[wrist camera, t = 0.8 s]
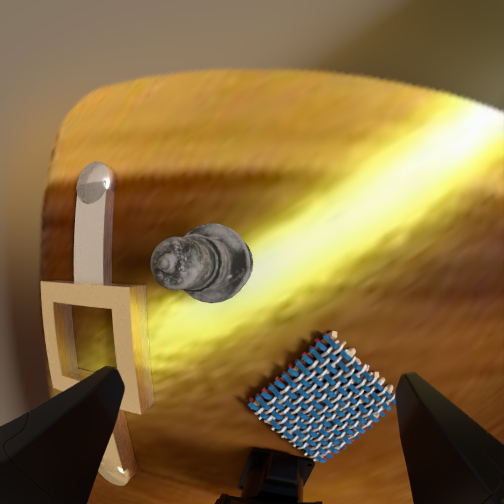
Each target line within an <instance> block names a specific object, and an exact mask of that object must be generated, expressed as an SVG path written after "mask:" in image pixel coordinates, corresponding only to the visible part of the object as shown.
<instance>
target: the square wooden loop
mask: <svg viewBox="0 0 504 504" xmlns="http://www.w3.org/2000/svg"><path fill="white" fill-rule="evenodd" d="M41 299H42V313H43V324H44V333H45V341H46V349H47V355H48V362H49V367H50V373H51V378H52V383H53V388H56V389H58V390H61V391H65V390H66V389H68V388H70V387H71V386H73V385H75V384H76V383H78V382H80V381H81V380H83V379H85V378H86V377H87V376H83V375H79V374H76V373H73V372H70V367H69V360H68V353H67V346H66V338H65V328H64V317H63V303H65V304H73V305H81V306H89V307H98V308H108V309H112V319H113V333H114V344H115V354H116V363H117V369H118V371H119V373H120V375H121V378H122V380H123V382H124V385H125V392H124V395H123V399H122V402H121V406H120V410H119V413H118V417H117V421H116V424H115V427H114V430H113V433H112V435H111V438H110V440H109V443H108V446H107V448H106V451H105V454H104V456H103V459H102V462H101V464H100V467H99V470H98V471H99V473H100V474H101V475H102V476H103V477H104V478H105V479H106V480H108V481H109V482H111V483H113V484H115V485H119V486H123V485H125V484H126V483H127V482H128V481H129V480H130V479H131V478H132V476H133V475H134V474H135V473H136V472H137V470H138V463H137V461H136V459H135V456H134V452H133V448H132V444H131V439H130V435H129V430H128V425H127V420H126V415H125V411H129V412H133V413H137V414H141V415H142V414H143V413H144V412H145V411H146V410H147V409H148V402H147V394H146V386H145V378H144V369H143V359H142V348H141V334H140V318H139V295H138V286H128V285H108V284H91V283H75V282H60V281H41Z"/></svg>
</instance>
